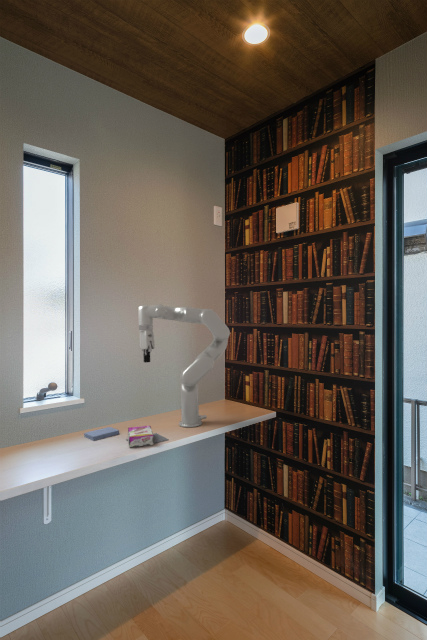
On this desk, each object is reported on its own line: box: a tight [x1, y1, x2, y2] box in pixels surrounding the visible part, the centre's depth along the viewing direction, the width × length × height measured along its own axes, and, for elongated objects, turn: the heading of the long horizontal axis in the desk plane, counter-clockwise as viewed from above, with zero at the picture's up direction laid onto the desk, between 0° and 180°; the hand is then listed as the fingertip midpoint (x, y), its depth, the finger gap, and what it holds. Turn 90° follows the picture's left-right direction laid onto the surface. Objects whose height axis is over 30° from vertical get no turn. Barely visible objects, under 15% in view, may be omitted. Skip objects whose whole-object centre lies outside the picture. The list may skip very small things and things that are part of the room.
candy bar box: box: [127, 425, 154, 448], centre depth 175 cm, size 11×5×16 cm
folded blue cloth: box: [83, 426, 120, 442], centre depth 187 cm, size 14×10×2 cm
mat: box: [125, 432, 169, 448], centre depth 177 cm, size 16×14×1 cm
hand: (147, 362), depth 200 cm, fingers closed
